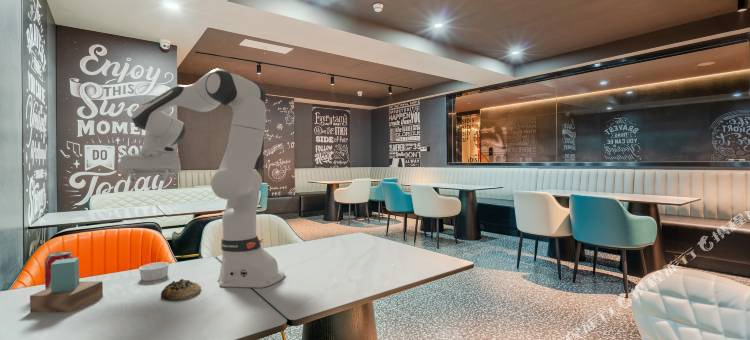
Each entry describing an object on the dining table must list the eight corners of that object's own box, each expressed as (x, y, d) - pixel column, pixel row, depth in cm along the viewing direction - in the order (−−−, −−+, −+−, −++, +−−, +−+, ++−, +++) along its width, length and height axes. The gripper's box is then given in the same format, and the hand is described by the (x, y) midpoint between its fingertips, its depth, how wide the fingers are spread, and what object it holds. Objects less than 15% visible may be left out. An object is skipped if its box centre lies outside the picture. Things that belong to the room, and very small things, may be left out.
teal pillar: (79, 284, 102) (78, 257, 102) (75, 289, 97) (74, 261, 97) (56, 287, 99) (56, 260, 99) (51, 293, 95) (50, 264, 95)
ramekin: (158, 282, 117) (158, 269, 117) (133, 282, 117) (132, 269, 117) (174, 273, 126) (174, 261, 126) (150, 273, 126) (150, 262, 126)
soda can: (56, 295, 106) (55, 256, 105) (39, 293, 107) (37, 255, 107) (80, 287, 113) (79, 250, 112) (63, 285, 114) (62, 249, 114)
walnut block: (102, 297, 104) (102, 281, 104) (70, 313, 93) (70, 295, 93) (66, 297, 105) (66, 281, 104) (30, 313, 94) (30, 295, 93)
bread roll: (155, 294, 106) (157, 277, 106) (193, 289, 114) (195, 274, 114) (166, 306, 98) (168, 288, 98) (206, 299, 106) (208, 283, 106)
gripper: (120, 148, 131) (111, 174, 122) (181, 148, 138) (177, 173, 129) (124, 160, 135) (116, 186, 126) (183, 159, 142) (179, 184, 133)
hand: (147, 179), depth 128 cm, fingers open, 8 cm apart
